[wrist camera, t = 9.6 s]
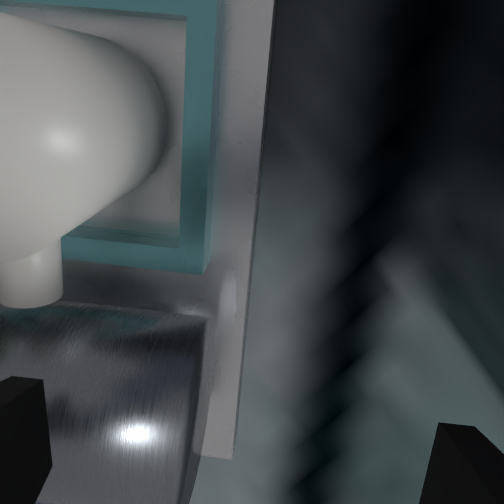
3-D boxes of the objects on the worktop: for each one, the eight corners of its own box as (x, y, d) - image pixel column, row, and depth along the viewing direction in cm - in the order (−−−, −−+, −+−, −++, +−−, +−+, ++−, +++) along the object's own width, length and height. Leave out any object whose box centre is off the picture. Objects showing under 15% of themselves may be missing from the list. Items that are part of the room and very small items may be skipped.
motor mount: (281, -46, 14) (264, -184, 7) (236, 433, 20) (203, 619, 13) (-96, -75, 15) (-461, -227, 8) (-29, 397, 21) (-196, 556, 14)
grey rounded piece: (169, 43, 14) (83, 13, 8) (162, 254, 16) (91, 346, 10) (5, 25, 14) (-191, -14, 8) (22, 236, 16) (-122, 317, 11)
